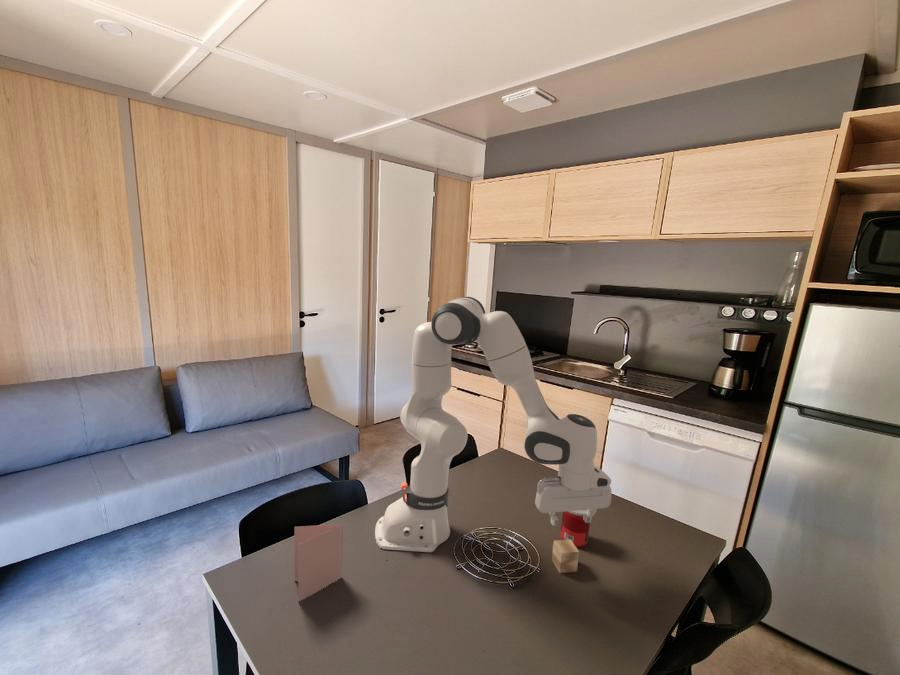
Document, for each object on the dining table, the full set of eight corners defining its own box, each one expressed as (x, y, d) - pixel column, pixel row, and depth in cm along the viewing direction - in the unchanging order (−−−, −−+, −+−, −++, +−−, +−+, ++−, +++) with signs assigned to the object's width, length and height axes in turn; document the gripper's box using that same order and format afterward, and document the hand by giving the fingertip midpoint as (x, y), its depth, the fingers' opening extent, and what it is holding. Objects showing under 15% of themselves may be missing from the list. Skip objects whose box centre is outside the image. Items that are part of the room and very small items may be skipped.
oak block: (559, 573, 106) (561, 553, 105) (551, 559, 111) (553, 540, 110) (576, 571, 107) (579, 551, 106) (568, 558, 112) (570, 539, 111)
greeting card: (342, 575, 101) (343, 521, 99) (339, 598, 94) (340, 542, 91) (295, 578, 99) (295, 524, 96) (288, 603, 92) (288, 545, 89)
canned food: (591, 548, 116) (595, 514, 115) (563, 547, 116) (567, 513, 115) (582, 532, 124) (587, 499, 122) (557, 530, 124) (561, 498, 122)
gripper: (542, 484, 99) (538, 533, 102) (617, 479, 103) (611, 527, 105) (533, 471, 105) (529, 518, 108) (603, 467, 109) (598, 512, 112)
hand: (570, 522), depth 107 cm, fingers open, 8 cm apart
